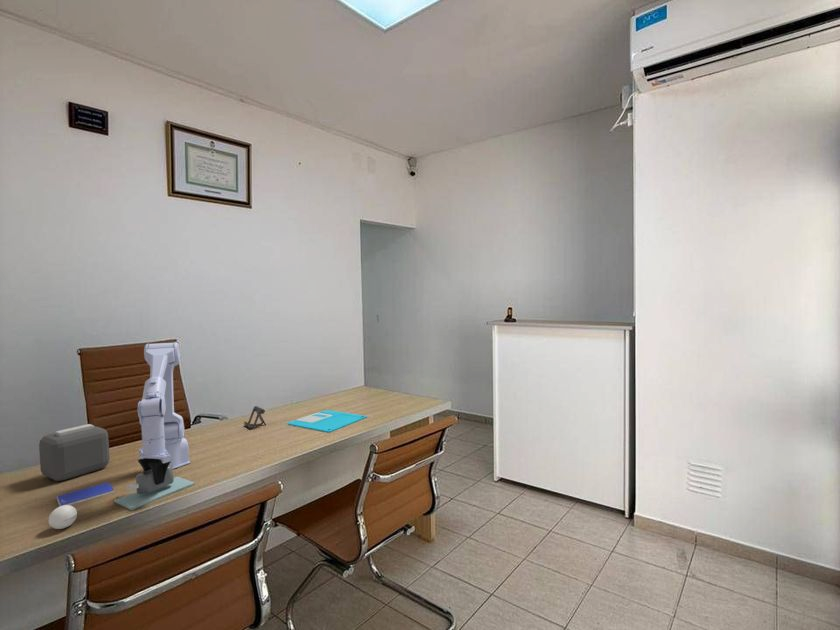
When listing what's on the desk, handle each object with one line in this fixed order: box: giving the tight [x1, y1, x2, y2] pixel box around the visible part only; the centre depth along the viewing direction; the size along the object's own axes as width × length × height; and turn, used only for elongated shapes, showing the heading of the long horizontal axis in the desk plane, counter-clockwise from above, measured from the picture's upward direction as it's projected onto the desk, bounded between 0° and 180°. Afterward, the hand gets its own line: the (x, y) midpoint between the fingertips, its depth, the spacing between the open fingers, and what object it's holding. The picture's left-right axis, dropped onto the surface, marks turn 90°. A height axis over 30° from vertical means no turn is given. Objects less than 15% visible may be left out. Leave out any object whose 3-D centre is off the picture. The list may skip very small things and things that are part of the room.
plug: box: [125, 464, 175, 494], centre depth 123 cm, size 12×4×5 cm, turn 149°
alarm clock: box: [38, 423, 110, 482], centre depth 142 cm, size 16×11×16 cm
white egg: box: [48, 505, 80, 530], centre depth 107 cm, size 8×6×6 cm
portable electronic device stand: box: [243, 405, 267, 430], centre depth 191 cm, size 9×8×8 cm
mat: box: [113, 476, 196, 511], centre depth 124 cm, size 18×10×1 cm, turn 149°
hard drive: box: [56, 481, 115, 507], centre depth 124 cm, size 2×8×12 cm
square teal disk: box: [286, 409, 368, 434], centre depth 196 cm, size 26×28×1 cm
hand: (155, 481), depth 124 cm, fingers closed on plug, 4 cm apart
